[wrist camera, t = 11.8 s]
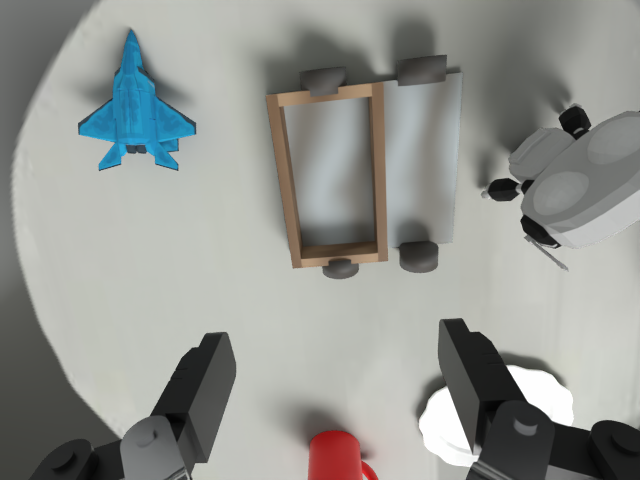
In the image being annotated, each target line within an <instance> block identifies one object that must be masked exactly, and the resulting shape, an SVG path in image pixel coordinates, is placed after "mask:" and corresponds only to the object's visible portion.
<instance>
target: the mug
mask: <svg viewBox="0 0 640 480" xmlns="http://www.w3.org/2000/svg"><path fill="white" fill-rule="evenodd" d="M362 473H363V474H364V475H365V476H366V477H367V478H368V480H378V477H377V476H376V474H375V472H374V471H373V470H372V468H371V467H370V466H369V465H368V464H366V463H365V462H363V461H361V453H360V444H359V442H358V440H357V439H356V438H355V437H354V436H352V435H351V434H349V433H346V432H343V431H334V430H332V431H326V432H322V433H320V434H318V435H316V436H315V437H314V438H313V439H312V441H311V443H310V450H309V467H308V480H363V479H362Z"/></svg>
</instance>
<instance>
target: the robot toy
mask: <svg viewBox="0 0 640 480" xmlns="http://www.w3.org/2000/svg"><path fill="white" fill-rule="evenodd" d="M559 121H560V123H561V126H562V128H563V130H561V129H559V128H545V129H543V128H541V129H538V130H537V131H536V132H535V133H533V134H532V135H531V136H530V137H528V138H527V139H525V141H524V142H523V143H522V144H521V145H520V146H519V147H518V149H517V150H516V151H515V152H514V153H513V152H512V154H511V155H510V157H509V158H508V160H509V163H510V165H509V171H510V173H511V174H512V175H513V176H514V177H515V178H516V179H518V180H519V181H520V182H521V183H522V184H519V183H517V182H515V181H513V180H511V179H509V178H505V179H497V180H494V181H493V182H492V183H490V184H488V185H487V186H486V187H485V190H486V191H483V192H482V193H481V196H482V198H485V199H491V198H492V199H494V200H496V201H511V200H513V199H514V198H515V197H516V196H518V195H519V194H520V193H523V194H524V198H523V201H522V204H521V210H522V213H523V217H522V219H521V221H520V222H521V224H522V227H523V230H524V232H525V233H526V234H527V236H526V237H524V238H525V239H526V240H527V241H528V242H529V243H530V244H532V245H535V246H536V247H537V248H539V249H540V250H541V251H542V252H543V253H545V254H546V255H547V256H548V257H549V258H551V259H552V260H553V261H554V262H555V263H557V265H558V266H559V267H561V268H562V269H563V270H564V271H568V268H567V267H566V266H565V265H564V264H562V263H561V262H560V261H558V260H557V259H555V258H554V257H553V256H552V255H550V254H549V253H548V252H547V251H545V250H544V249H543V248H542V247H541V246H546V247H550V248H554V249H556V248H558V247H560V246H566V247H570V248H576V249H578V248H582V247H585V246H589V245H592V244H596V243H598V242H600V241H603V240H605V239H607V238H609V237H611V236H613V235H614V234H616V233H618V232H620V231H622V230H624V229H625V228H627V227H628V226H630V225H631V224H633V223H635V222H636V221H638V220H639V219H640V111H639V112H635V111H626V112H624V113H621V114H619V115H617V116H615V117H613V118H610V119H608V120H606V121H604V122H602V123H600V124H599V125H597V126H596V127H594V128H593V129H592V130H590V131H589V130H588V129H589V128H590V127H591V123H590V121H589V119H588V117H587V115H586V113H585V111H584V110H583V109H582V106H581V105H579V104H576V103H574V104H572V105H571V106H570V108H569V109H567V110H566V109H565V110H564V111H562V112H561V113H560V117H559ZM536 242H537V243H538V244H540V245H541V246H539V245H538V244H537V243H536Z"/></svg>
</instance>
